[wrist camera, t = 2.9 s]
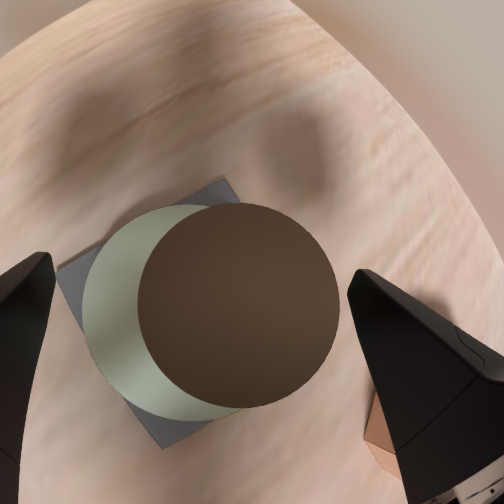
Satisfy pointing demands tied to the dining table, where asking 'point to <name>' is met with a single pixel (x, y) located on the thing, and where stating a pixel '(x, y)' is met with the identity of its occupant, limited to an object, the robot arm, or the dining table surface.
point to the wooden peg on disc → (209, 309)
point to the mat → (73, 289)
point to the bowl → (381, 440)
